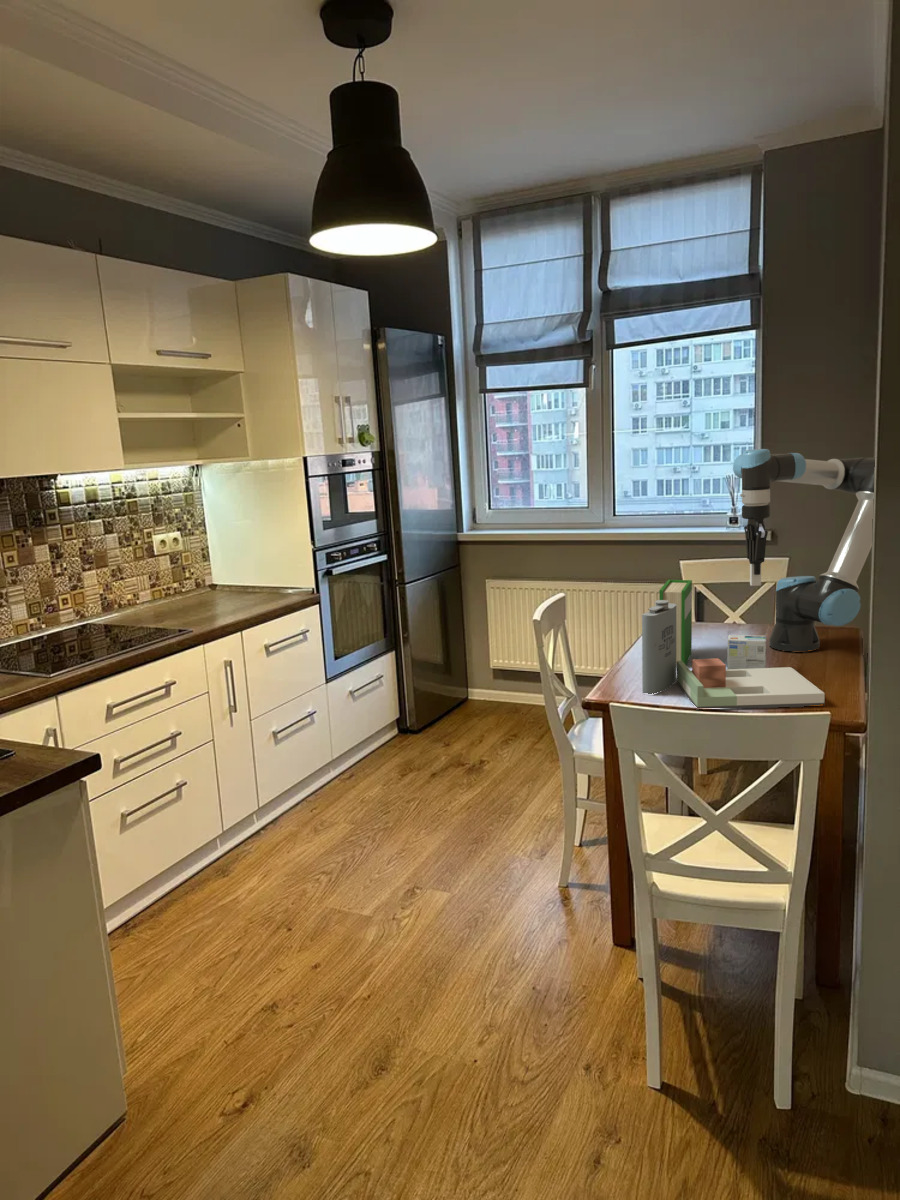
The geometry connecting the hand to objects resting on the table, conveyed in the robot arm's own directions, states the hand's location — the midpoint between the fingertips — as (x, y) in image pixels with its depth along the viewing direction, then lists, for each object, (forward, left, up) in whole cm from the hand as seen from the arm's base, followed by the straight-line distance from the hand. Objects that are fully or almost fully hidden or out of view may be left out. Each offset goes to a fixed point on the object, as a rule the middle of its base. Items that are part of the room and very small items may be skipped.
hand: (755, 585), depth 238 cm
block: (+19, +23, -22) cm, 37 cm away
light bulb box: (+3, +3, -26) cm, 26 cm away
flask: (+30, +14, -26) cm, 42 cm away
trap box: (+9, +23, -26) cm, 35 cm away
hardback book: (+20, -13, -26) cm, 35 cm away
